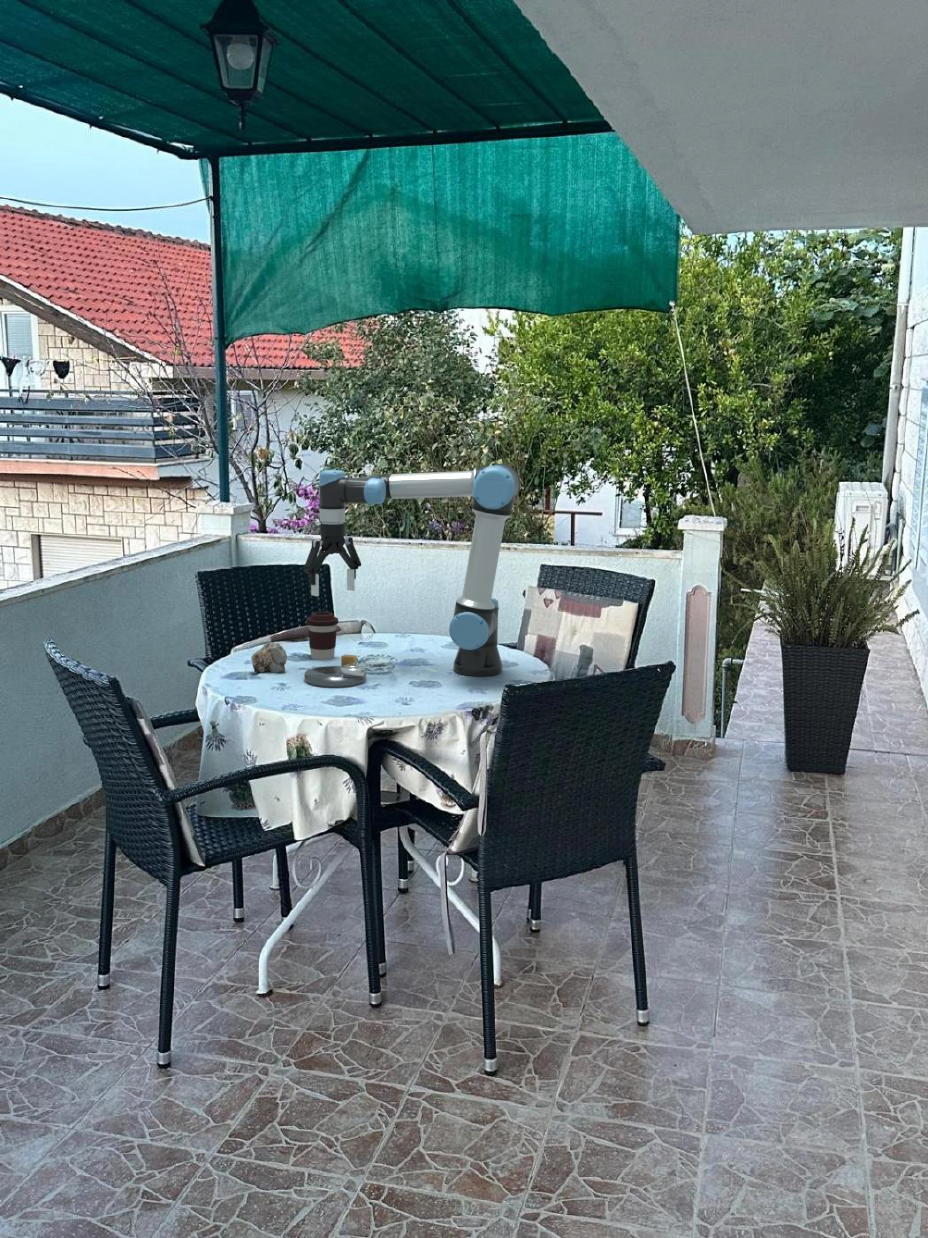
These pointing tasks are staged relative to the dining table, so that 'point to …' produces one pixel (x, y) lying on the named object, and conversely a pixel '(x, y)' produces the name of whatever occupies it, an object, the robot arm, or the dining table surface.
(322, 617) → the coffee cup
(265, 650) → the rock
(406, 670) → the dining table surface
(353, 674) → the cover
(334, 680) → the turntable
